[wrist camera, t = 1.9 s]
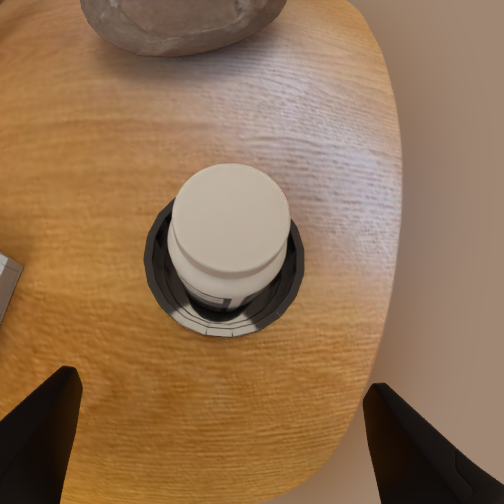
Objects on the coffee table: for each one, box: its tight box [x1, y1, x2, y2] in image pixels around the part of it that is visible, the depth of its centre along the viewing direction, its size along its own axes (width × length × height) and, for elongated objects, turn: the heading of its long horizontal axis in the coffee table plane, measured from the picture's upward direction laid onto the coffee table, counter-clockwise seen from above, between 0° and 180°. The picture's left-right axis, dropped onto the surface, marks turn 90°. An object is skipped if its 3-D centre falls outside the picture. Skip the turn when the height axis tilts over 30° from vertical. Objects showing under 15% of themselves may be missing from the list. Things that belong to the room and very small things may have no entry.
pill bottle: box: [168, 163, 291, 312], centre depth 17 cm, size 6×6×10 cm
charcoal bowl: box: [144, 198, 304, 340], centre depth 20 cm, size 9×9×4 cm
